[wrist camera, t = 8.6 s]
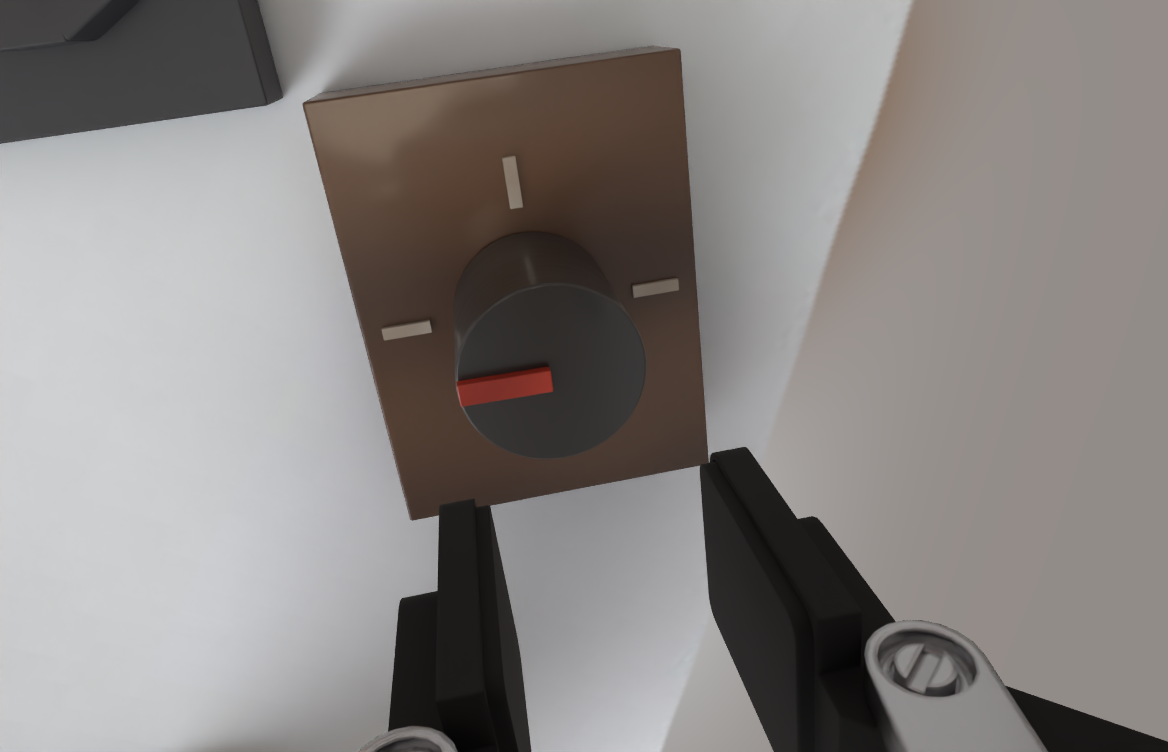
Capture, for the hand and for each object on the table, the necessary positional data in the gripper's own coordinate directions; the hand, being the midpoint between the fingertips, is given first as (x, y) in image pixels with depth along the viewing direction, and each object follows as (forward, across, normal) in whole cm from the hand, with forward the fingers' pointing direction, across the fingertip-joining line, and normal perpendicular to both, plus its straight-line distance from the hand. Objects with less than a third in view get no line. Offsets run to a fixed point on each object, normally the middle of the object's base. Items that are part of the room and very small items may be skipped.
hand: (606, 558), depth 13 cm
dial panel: (+15, 0, 0) cm, 15 cm away
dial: (+12, 0, 0) cm, 12 cm away
